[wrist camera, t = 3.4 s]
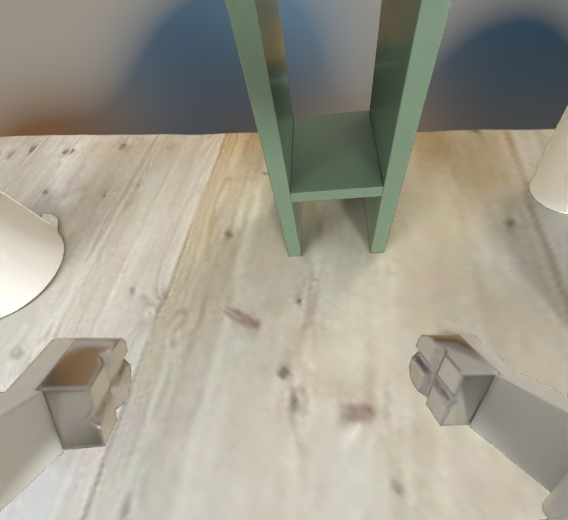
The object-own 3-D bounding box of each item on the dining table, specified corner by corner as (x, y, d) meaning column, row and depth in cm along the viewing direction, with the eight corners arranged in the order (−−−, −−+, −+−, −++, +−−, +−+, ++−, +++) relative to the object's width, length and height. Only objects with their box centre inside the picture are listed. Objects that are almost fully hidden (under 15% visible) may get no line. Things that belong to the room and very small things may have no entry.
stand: (384, 252, 33) (531, -291, 8) (288, 256, 35) (177, -190, 10) (372, 183, 39) (441, -265, 14) (291, 189, 41) (224, -203, 16)
